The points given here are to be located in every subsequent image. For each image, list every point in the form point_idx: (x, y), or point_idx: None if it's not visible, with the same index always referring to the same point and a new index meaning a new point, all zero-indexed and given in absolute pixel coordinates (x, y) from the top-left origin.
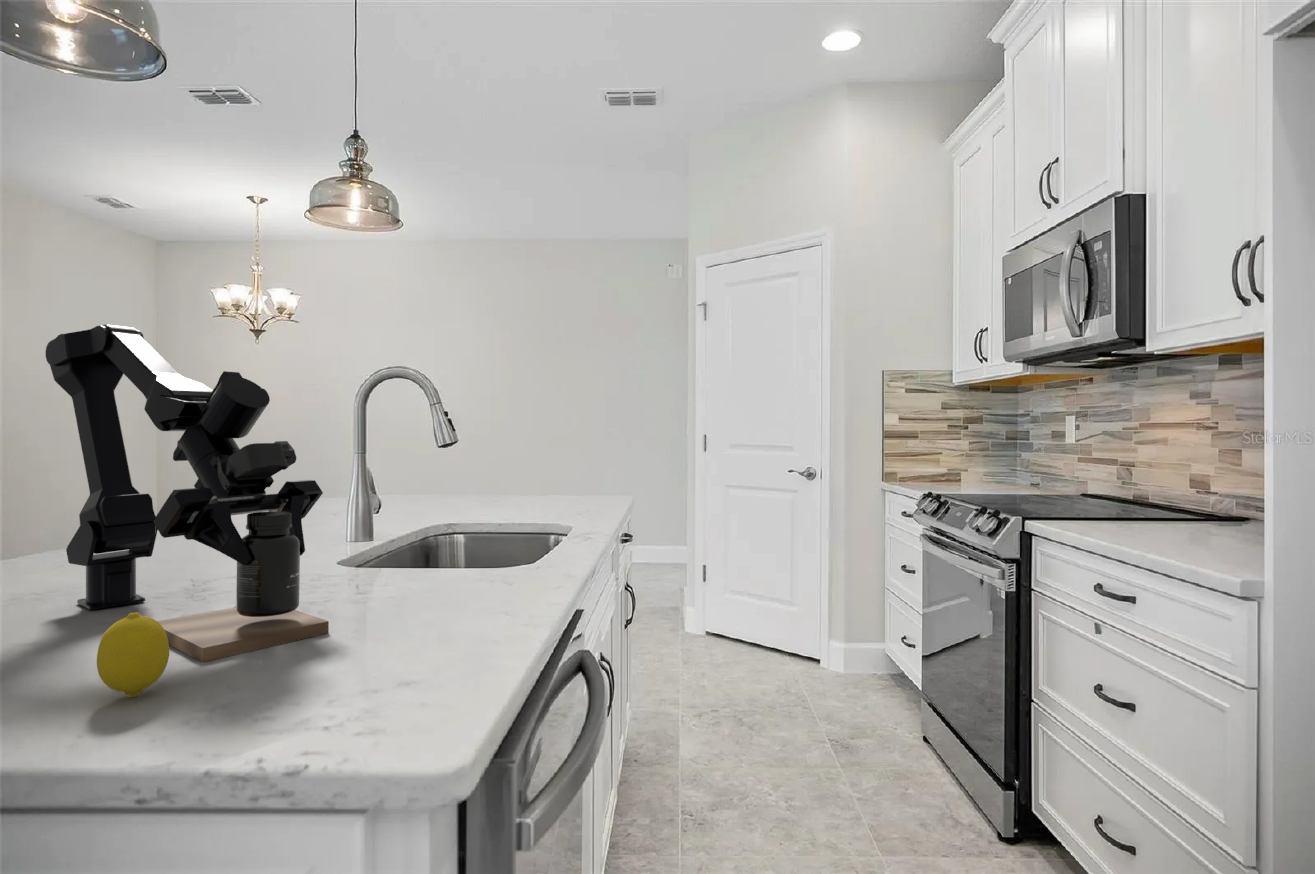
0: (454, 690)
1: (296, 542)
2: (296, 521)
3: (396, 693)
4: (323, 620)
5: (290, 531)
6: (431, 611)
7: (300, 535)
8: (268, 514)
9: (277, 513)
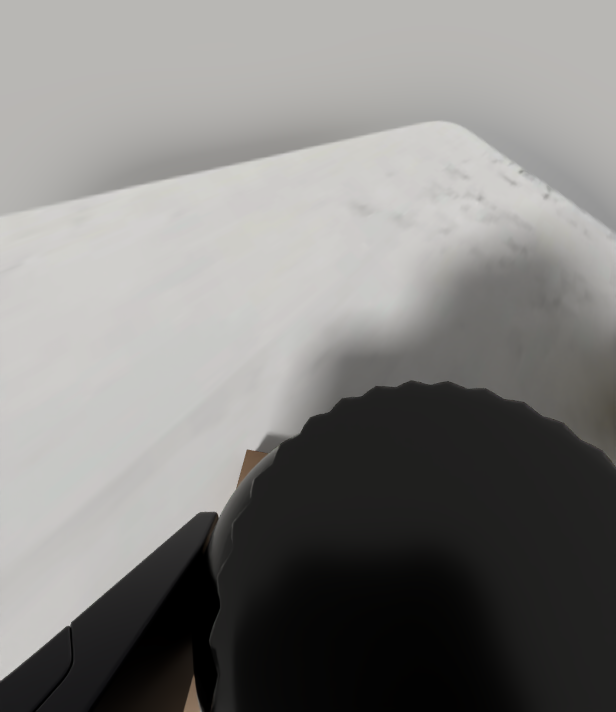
0: (348, 172)
1: (298, 434)
2: (64, 679)
3: (388, 201)
4: (248, 465)
5: (152, 686)
6: (4, 398)
7: (157, 567)
8: (530, 489)
9: (412, 505)
